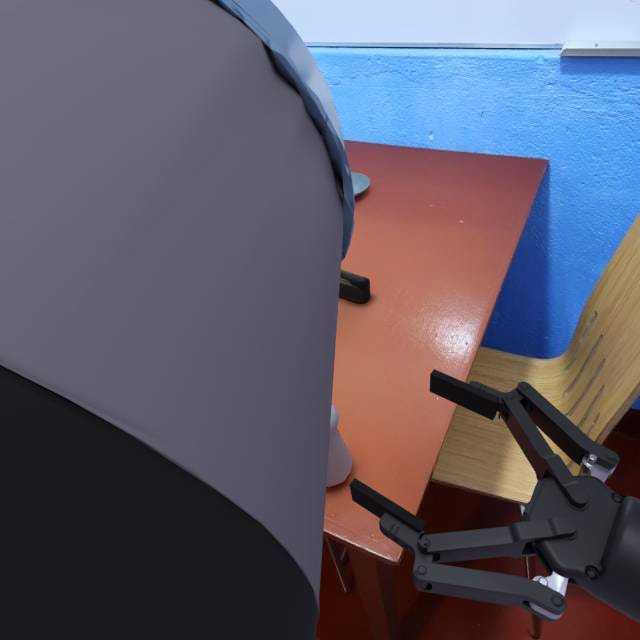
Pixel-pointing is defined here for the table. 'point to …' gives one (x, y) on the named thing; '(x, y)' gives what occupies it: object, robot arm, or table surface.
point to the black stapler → (354, 287)
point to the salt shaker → (337, 454)
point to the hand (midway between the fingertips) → (395, 430)
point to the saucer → (359, 183)
